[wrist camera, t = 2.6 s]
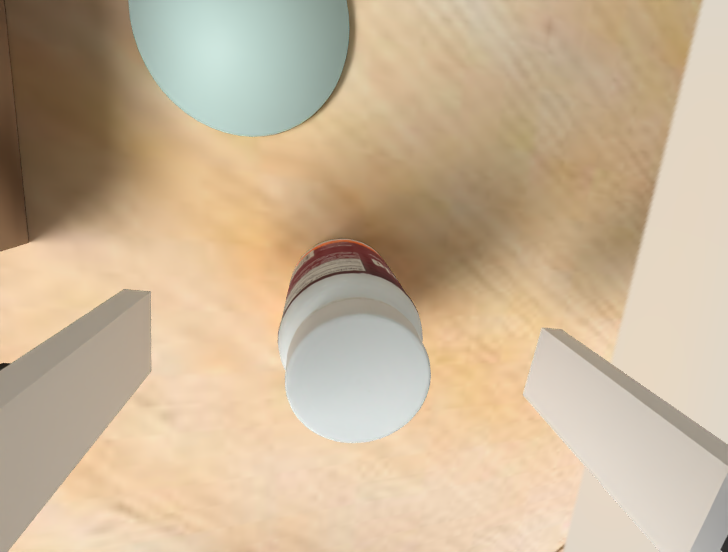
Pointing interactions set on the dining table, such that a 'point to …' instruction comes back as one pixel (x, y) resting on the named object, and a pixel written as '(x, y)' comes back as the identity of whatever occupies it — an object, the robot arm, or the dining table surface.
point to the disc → (244, 58)
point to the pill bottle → (351, 345)
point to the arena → (9, 154)
